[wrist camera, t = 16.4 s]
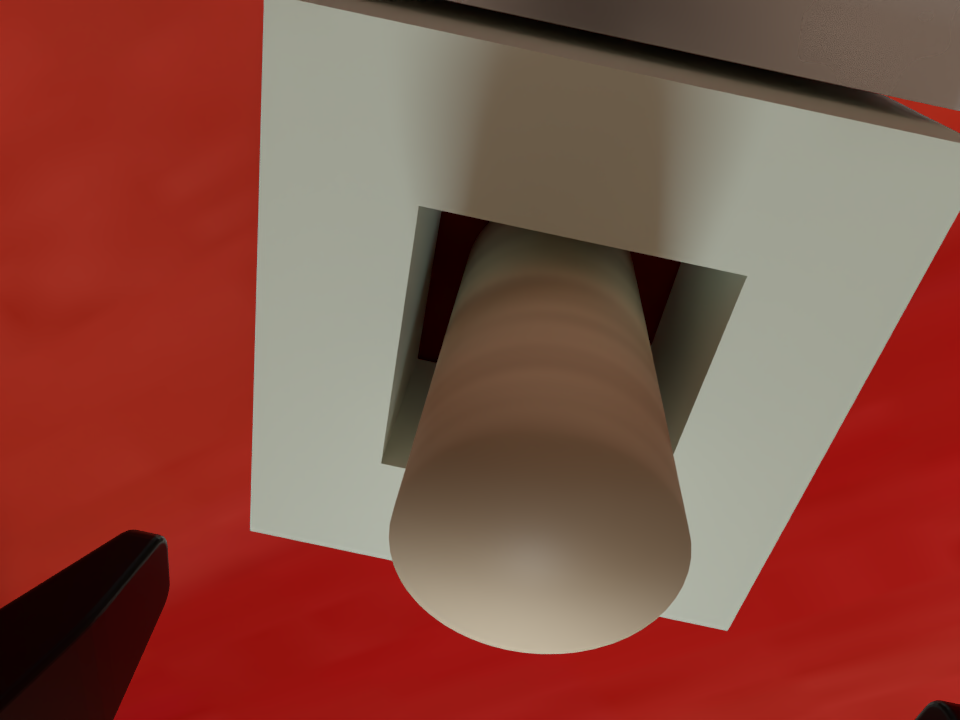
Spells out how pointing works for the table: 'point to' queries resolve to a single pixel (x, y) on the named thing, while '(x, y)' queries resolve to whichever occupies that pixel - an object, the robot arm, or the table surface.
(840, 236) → the block
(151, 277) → the table surface
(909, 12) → the bar
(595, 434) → the dowel
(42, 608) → the robot arm
